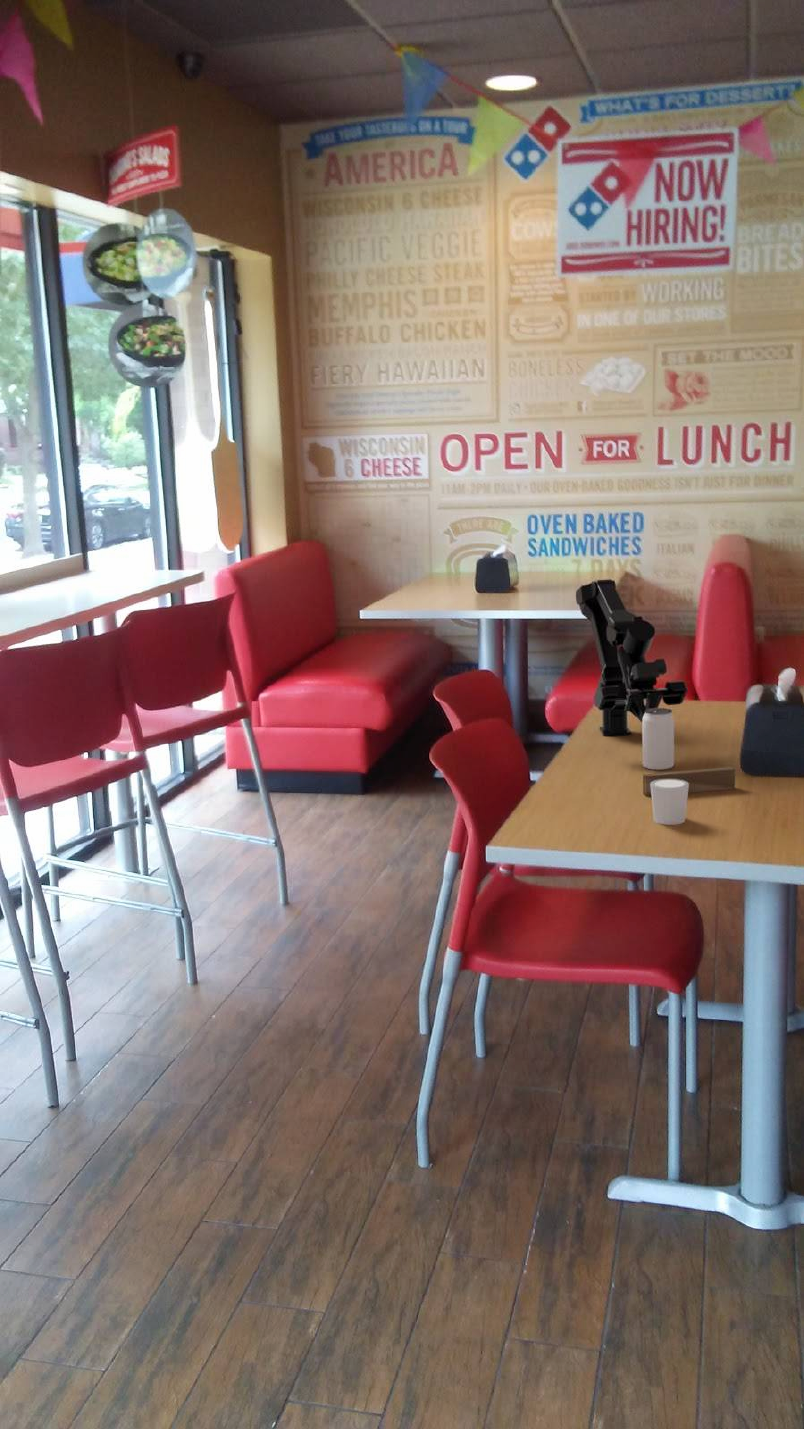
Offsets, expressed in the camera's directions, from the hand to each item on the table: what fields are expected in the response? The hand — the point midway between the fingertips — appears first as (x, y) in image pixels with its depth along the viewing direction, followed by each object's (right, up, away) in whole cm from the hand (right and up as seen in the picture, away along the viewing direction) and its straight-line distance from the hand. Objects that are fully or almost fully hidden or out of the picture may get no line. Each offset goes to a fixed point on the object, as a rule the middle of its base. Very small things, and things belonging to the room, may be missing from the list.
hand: (650, 728), depth 274 cm
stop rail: (+3, -12, -21) cm, 25 cm away
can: (+1, -8, -3) cm, 9 cm away
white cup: (-4, -17, -38) cm, 41 cm away
